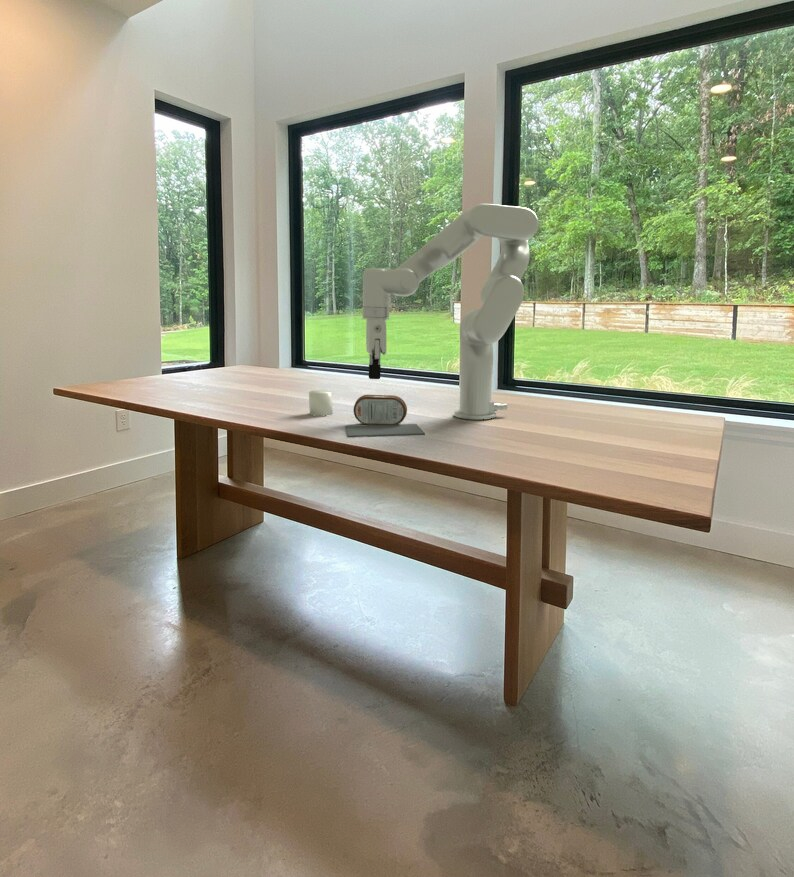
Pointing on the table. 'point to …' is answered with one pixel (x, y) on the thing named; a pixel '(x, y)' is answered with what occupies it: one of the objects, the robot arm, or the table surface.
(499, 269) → the robot arm
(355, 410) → the tin
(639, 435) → the table surface
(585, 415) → the table surface
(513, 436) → the table surface
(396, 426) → the mat
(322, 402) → the white rounded cube
